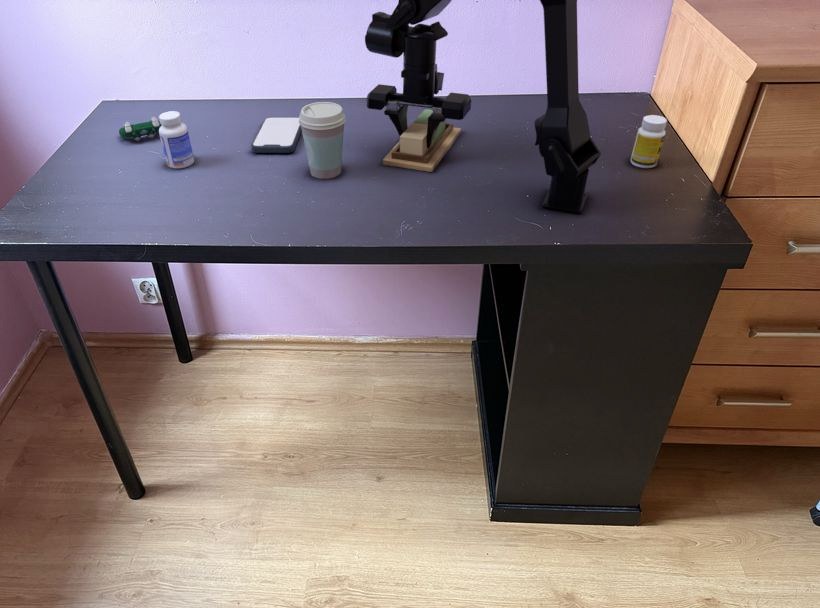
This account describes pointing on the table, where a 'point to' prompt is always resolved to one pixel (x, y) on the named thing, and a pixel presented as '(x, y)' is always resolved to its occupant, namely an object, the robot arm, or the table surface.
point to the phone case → (277, 136)
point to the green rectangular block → (424, 120)
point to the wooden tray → (430, 158)
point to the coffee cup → (323, 137)
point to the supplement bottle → (649, 142)
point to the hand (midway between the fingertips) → (417, 145)
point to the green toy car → (140, 129)
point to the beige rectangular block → (415, 140)
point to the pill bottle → (175, 140)
